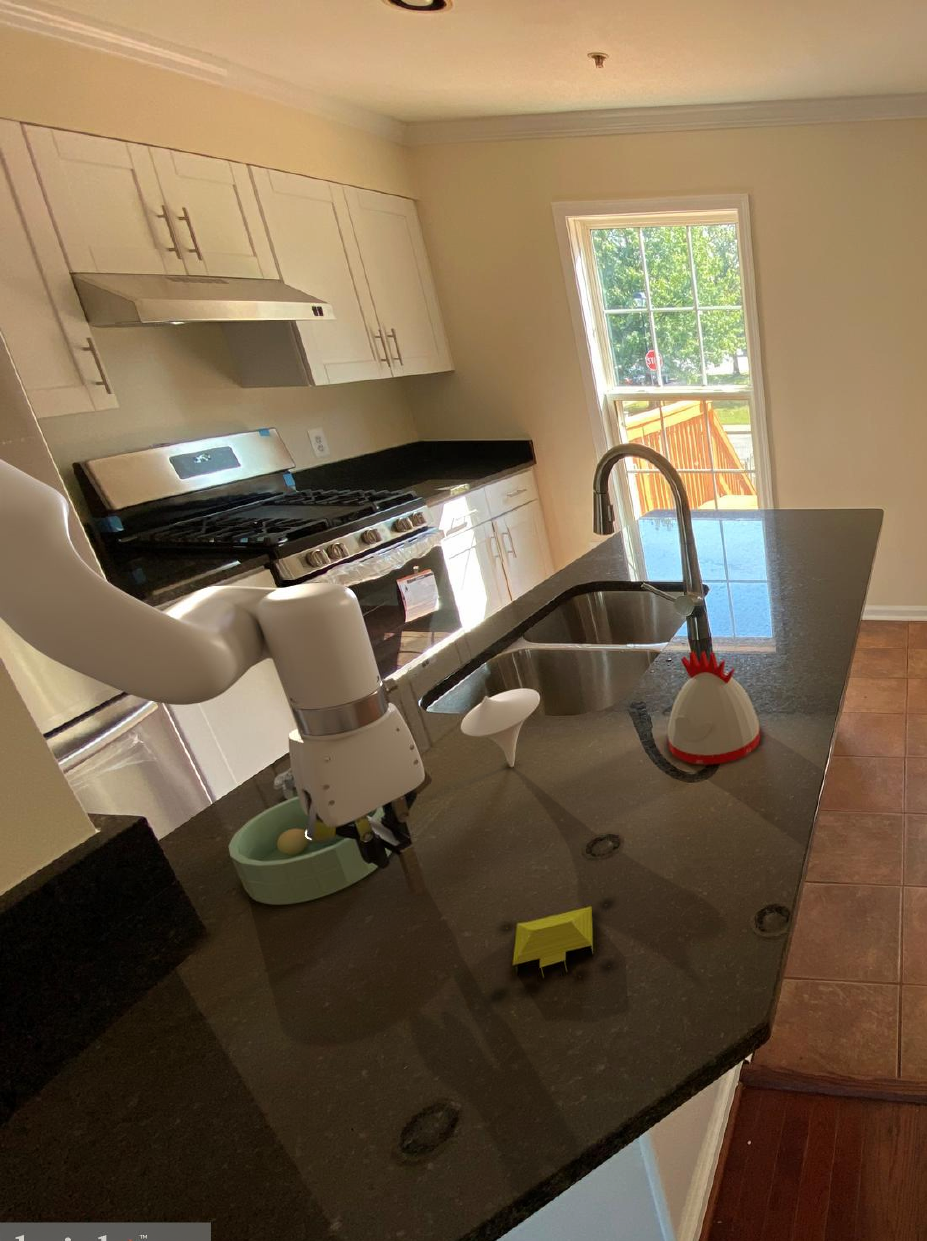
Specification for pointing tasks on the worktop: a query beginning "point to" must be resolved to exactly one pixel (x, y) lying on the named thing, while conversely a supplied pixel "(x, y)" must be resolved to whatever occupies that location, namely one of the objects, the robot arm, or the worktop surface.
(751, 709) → the kitchen timer
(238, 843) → the bowl
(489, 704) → the white spinning top
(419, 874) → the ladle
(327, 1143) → the worktop surface
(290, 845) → the orange-brown rounded ball
